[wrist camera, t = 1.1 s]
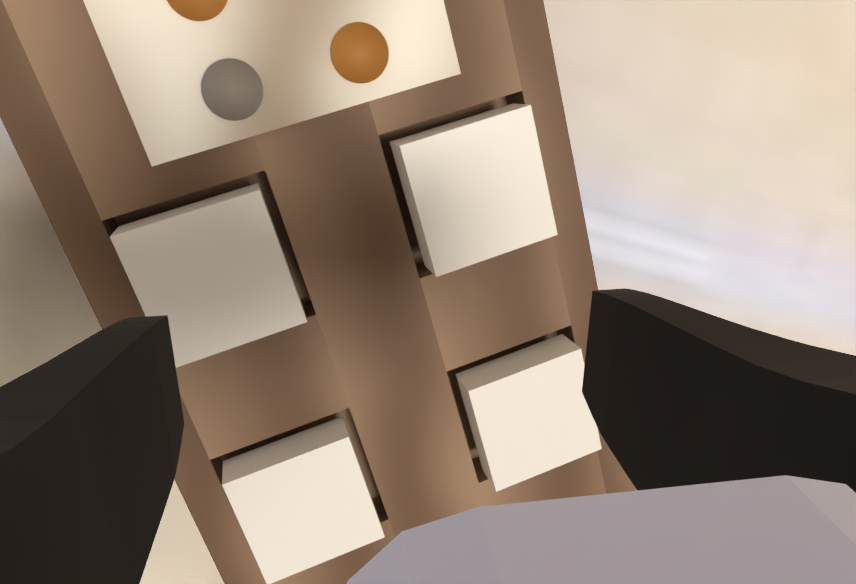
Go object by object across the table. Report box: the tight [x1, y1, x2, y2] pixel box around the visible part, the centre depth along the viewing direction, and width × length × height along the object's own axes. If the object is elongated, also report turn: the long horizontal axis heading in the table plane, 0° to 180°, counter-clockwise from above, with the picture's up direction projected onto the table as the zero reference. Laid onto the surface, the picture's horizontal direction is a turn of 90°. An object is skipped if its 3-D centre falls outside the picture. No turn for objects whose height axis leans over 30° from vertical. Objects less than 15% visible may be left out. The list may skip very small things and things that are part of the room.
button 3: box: [110, 183, 307, 368], centre depth 19 cm, size 4×4×1 cm
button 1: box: [222, 417, 385, 584], centre depth 22 cm, size 4×4×1 cm
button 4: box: [390, 103, 558, 277], centre depth 21 cm, size 4×4×1 cm
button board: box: [0, 0, 636, 584], centre depth 23 cm, size 15×24×4 cm, turn 16°
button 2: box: [456, 334, 602, 492], centre depth 23 cm, size 4×4×1 cm
